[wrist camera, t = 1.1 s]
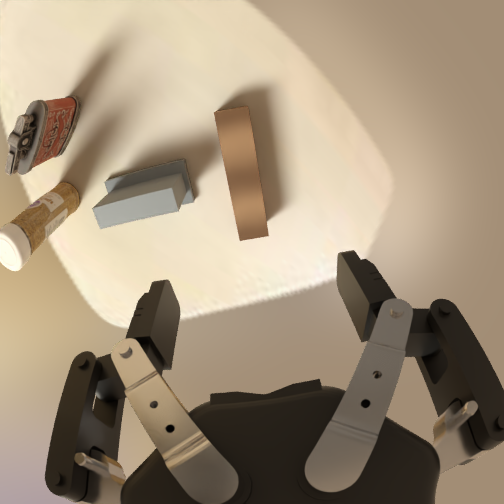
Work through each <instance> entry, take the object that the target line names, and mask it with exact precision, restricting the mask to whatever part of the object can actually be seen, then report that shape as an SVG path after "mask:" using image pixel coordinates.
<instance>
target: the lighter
mask: <svg viewBox="0 0 504 504" xmlns="http://www.w3.org/2000/svg"><path fill="white" fill-rule="evenodd" d="M80 109H81V100H80V99H79V98H78V97H77V96H67V97H65V98H61V99H54V100H47V101H43V100H37V101H33V102H32V103H30V105H29V106H28V108H27V111H26V113H25V114H24V115H21V116H18V118H17V121H16V125H15V128H14V130H13V131H12V132H11V134H10V135H9V138H8V144H10V149H9V153H8V158H7V163H6V168H5V172H6V173H7V174H8V175H12V174H14V173H16V172H18V173H19V174H21V175H23V174H26V173H28V172H29V171H31V169H32V168H33V167H35V166H37V165H39V164H41V163H43V162H45V161H47V160H49V159H51V158H56V157H58V156H60V155H62V154H63V152H64V150H65V149H66V147H67V145H68V143H69V141H70V139H71V136H72V134H73V132H74V129H75V126H76V123H77V120H78V116H79V112H80Z"/></svg>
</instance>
